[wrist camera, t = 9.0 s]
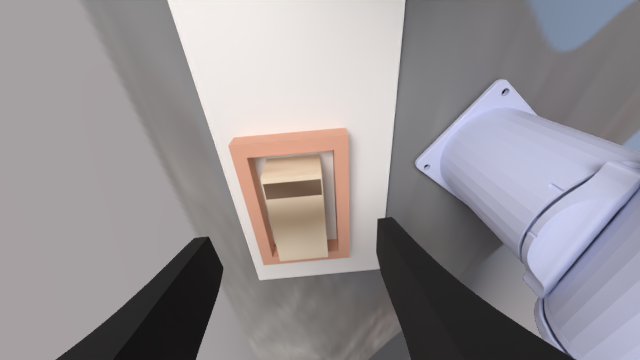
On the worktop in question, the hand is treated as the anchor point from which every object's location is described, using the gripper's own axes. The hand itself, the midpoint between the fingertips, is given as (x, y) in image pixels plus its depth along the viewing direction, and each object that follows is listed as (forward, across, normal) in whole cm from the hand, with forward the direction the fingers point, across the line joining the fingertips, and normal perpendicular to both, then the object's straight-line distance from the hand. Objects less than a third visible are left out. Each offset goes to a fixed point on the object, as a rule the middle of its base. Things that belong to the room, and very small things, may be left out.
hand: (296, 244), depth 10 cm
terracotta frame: (+9, +1, +4) cm, 10 cm away
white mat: (+9, 0, +1) cm, 9 cm away
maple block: (+9, +1, +4) cm, 10 cm away
